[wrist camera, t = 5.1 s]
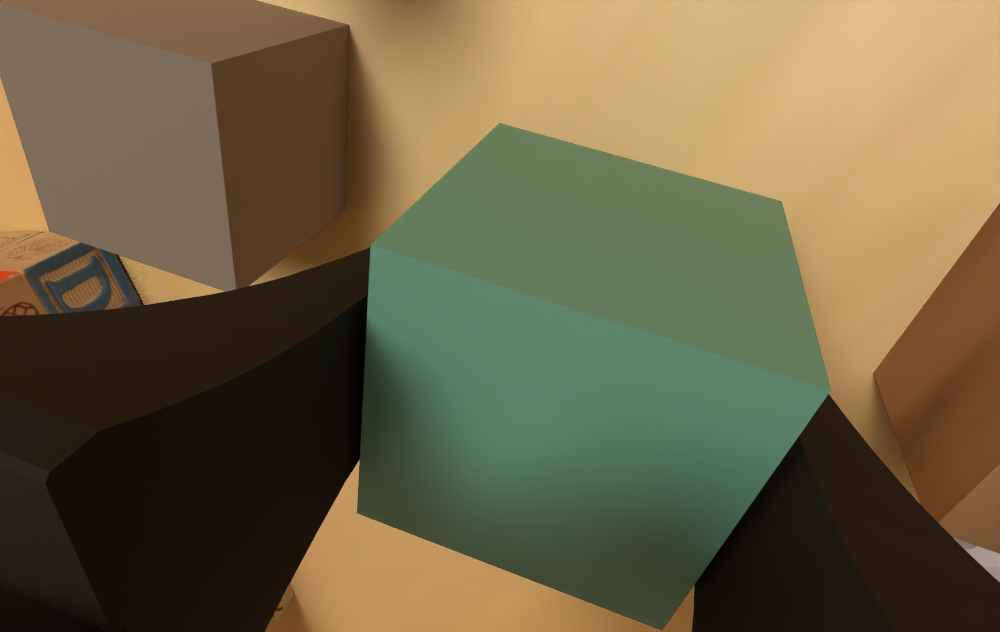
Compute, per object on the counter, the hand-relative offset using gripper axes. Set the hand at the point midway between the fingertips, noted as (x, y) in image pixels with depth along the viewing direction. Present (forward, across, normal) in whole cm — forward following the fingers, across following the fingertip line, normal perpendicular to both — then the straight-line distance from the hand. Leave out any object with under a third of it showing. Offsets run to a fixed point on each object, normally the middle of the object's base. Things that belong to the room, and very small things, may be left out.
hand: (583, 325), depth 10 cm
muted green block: (+2, 0, 0) cm, 2 cm away
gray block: (+6, +10, 0) cm, 11 cm away
